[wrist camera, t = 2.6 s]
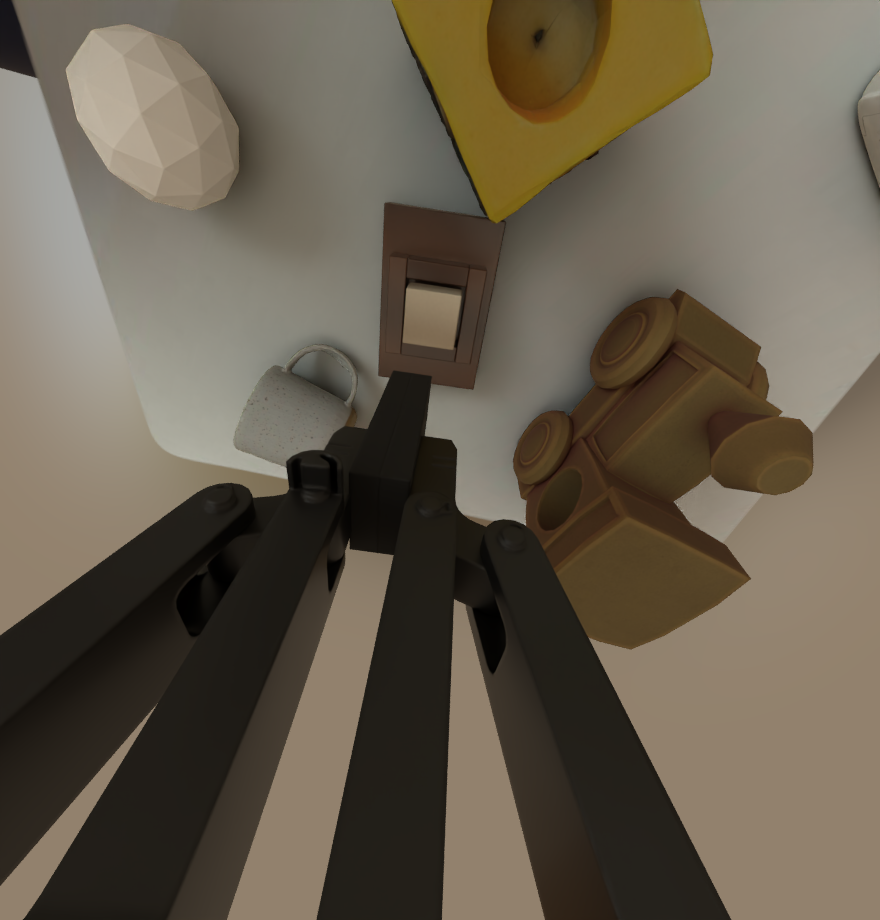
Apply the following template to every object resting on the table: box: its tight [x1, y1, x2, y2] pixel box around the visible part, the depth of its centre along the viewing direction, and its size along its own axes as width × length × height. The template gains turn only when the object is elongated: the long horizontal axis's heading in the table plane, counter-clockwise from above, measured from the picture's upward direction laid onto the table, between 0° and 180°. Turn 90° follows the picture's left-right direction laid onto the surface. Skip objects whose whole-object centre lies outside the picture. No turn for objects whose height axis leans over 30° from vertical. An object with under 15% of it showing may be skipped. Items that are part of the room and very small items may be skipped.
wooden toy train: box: [513, 289, 813, 649], centre depth 27 cm, size 20×11×17 cm, turn 152°
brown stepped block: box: [378, 202, 506, 390], centre depth 28 cm, size 12×8×4 cm, turn 173°
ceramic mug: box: [234, 344, 358, 467], centre depth 32 cm, size 11×8×8 cm
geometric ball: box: [66, 24, 239, 211], centre depth 21 cm, size 8×8×8 cm
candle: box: [392, 0, 713, 223], centre depth 18 cm, size 10×10×10 cm
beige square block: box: [403, 282, 462, 350], centre depth 26 cm, size 4×4×2 cm
